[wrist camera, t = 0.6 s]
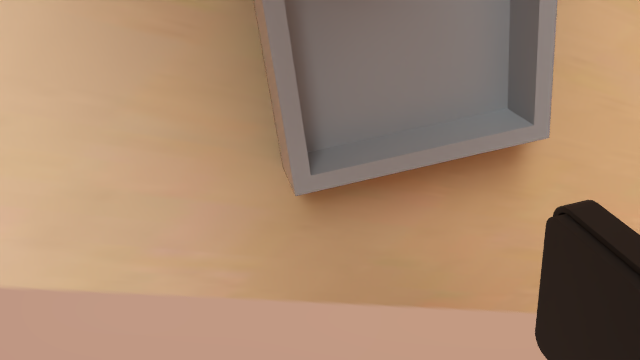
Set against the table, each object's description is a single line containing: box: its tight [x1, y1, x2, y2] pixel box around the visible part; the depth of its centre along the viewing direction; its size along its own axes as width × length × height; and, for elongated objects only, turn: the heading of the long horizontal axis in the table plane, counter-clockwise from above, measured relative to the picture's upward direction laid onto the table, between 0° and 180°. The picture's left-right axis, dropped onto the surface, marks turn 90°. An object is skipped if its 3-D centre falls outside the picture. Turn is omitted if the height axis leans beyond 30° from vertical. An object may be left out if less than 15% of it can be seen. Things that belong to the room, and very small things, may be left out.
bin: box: [254, 0, 557, 196], centre depth 37 cm, size 18×18×4 cm
